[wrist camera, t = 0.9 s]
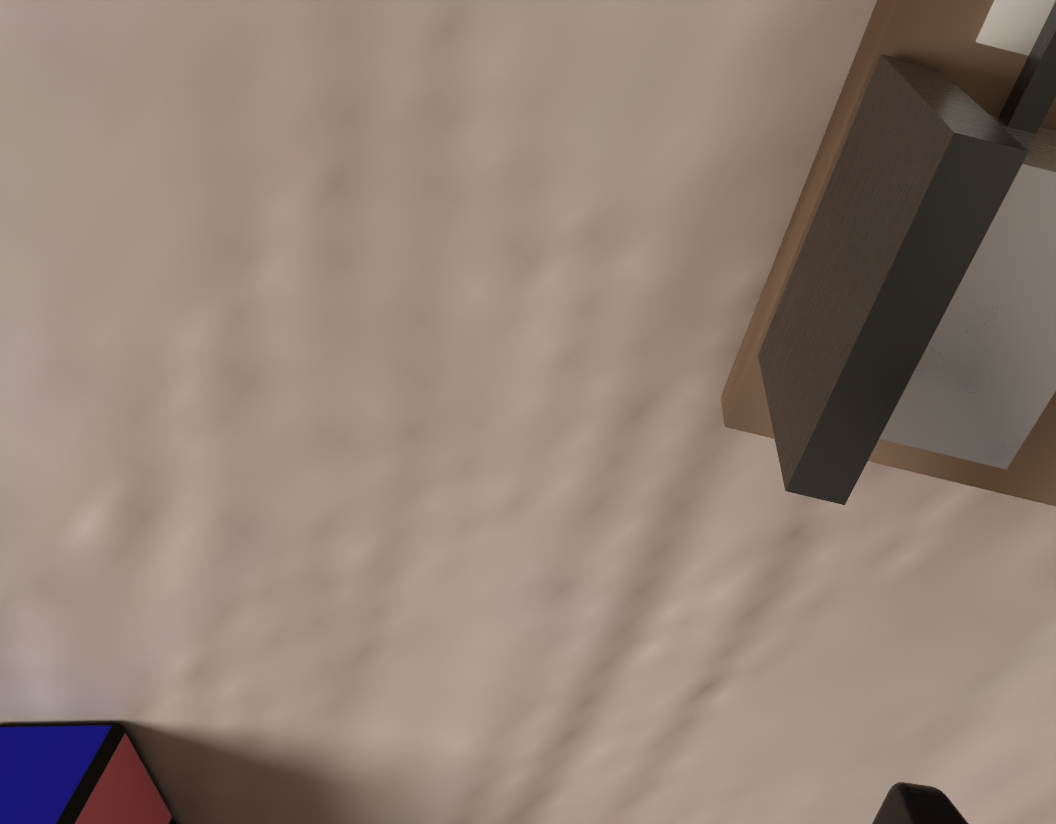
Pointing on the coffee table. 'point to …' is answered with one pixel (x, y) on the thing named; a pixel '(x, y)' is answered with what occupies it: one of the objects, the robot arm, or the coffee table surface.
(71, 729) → the puzzle cube
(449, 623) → the coffee table surface
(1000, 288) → the gauge carriage
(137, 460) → the coffee table surface
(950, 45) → the gauge stand
